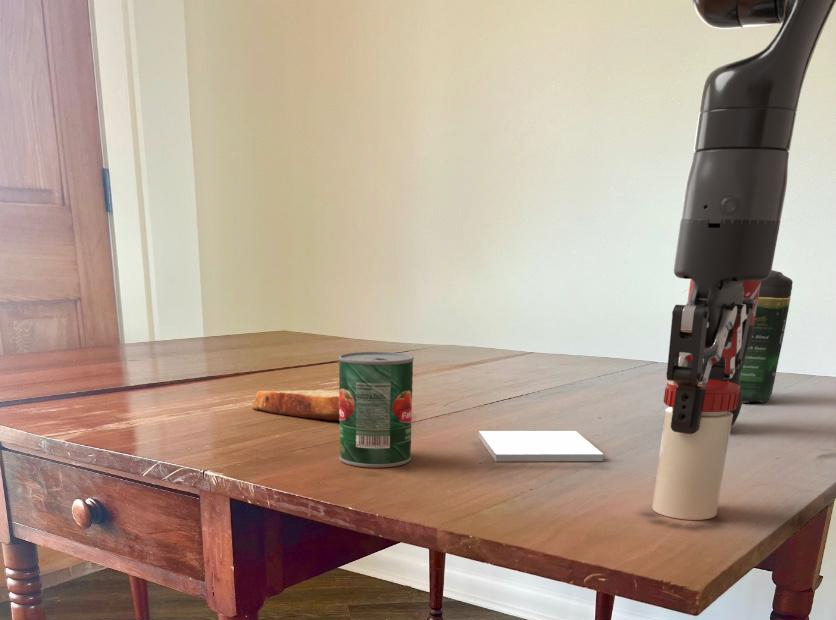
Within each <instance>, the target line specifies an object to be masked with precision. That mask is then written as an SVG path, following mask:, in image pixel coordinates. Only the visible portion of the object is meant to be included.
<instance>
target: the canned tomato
mask: <svg viewBox="0 0 836 620" xmlns="http://www.w3.org/2000/svg"><path fill="white" fill-rule="evenodd" d="M338 361H339V362H338V384H339V385H338V386H339V387H338V390H339V400H340V403H339V406H340V411H339V413H340V419H339V420H340V421H339V456H338V458H339V461H340V462H342V463H344V464H345V465H348V466H354V467H359V468H370V469H371V468H375V469H377V468H382V469H383V468H392V467H398V466H403V465H405V464H409V463H410V461H411V460H412V456H411V453H412V427H413V426H412V421H413V418H412V417H413V416H412V415H413V411H412V410H413V381H414V380H413V378H414V377H413V376H414V356H413V355H411V354H408V353H402V352H391V351H356V352H355V351H354V352H347V353H342V354H340V355H338Z"/></svg>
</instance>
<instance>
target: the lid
mask: <svg viewBox="0 0 836 620" xmlns="http://www.w3.org/2000/svg"><path fill="white" fill-rule="evenodd" d="M676 387H678V386H674V384H673V381H668V380H667V381H666V386H665V387H664V396H663V403H664V405H666V406H667V407H668V408H669V407H674V400H675V394H676ZM704 389H705V396H704V402H703V408H702V412H724V411H731V410H734V409H736V408H737V406H738V400H739V394H740V391H739V389H740V386H739V385H738V384H735V383H731V382H726V381H720V380H711V379H708V383H707V385H706V387H705V388H704Z"/></svg>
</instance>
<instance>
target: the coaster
mask: <svg viewBox="0 0 836 620" xmlns="http://www.w3.org/2000/svg"><path fill="white" fill-rule="evenodd" d="M478 439H479V440H480V442H481V443H482V444H483V446H484V447H485V449H486V450H487V452H488V453H489V454H490V456H491V457H492V459H493V460H494V462H500V463H501V462H505V463H506V462H509V463H510V462H513V463H514V462H516V463H517V462H518V463H519V462H604V456H605V453H603V452H601V450H599V449H598V448H597V447H595V446H594V445H593V444H592V443H591V442H590V441H588V440H587V439H586V438H585V437H583V436H582V435H581V434H580V433H579V432H578V431H576V430H478Z"/></svg>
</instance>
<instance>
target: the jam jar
mask: <svg viewBox="0 0 836 620" xmlns="http://www.w3.org/2000/svg"><path fill="white" fill-rule="evenodd" d="M672 414H673V407H669V406H668V407H667V408H665V410H664V417H663V422H662V423H663V424H662V430H661V431H662V432H661V438H660V446H659V454H658V460H657V469H656V476H655V483H654V489H653V490H654V491H653V498H652V505H651V508H652V510H653V512H655V513H657V514H659V515H661V516H664V517H667V518H672V519H677V520H685V521H703V520H709V519H712V518H714V517H716V516H717V513H718V508H719V502H720V496H721V489H722V484H723V476H724V473H725V465H726V460H727V453H728V448H729V441H730V435H731V430H732V426H731V424H732V418H733V413H731V412H729V411H724V412H702V414H701V420H700V426H699V430H698V431H697V432H695V433H693V434H686V433H679V432H674V431H673V430H672V429H671V421H672Z"/></svg>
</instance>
